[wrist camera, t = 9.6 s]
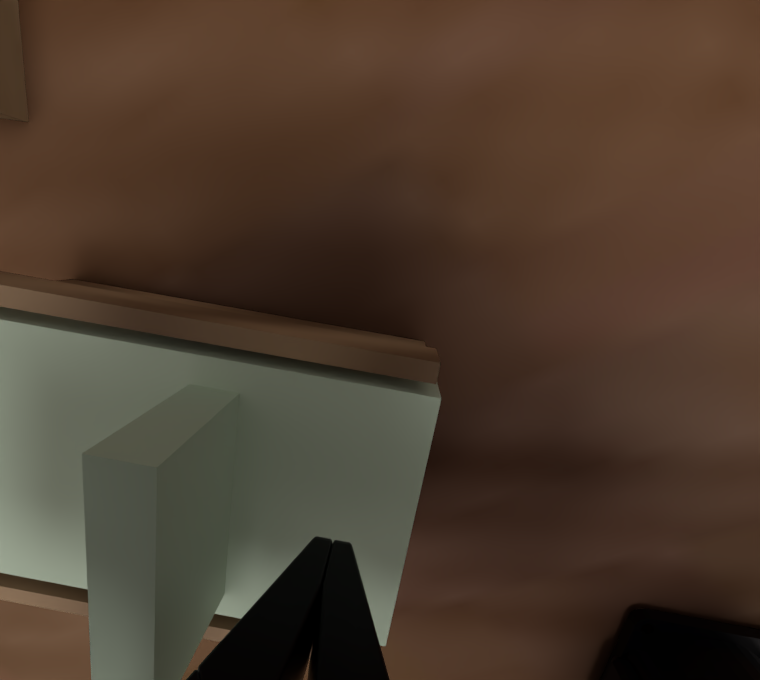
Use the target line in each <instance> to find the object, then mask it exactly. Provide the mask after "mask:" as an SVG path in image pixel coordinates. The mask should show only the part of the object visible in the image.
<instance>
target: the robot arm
mask: <svg viewBox="0 0 760 680" xmlns="http://www.w3.org/2000/svg"><path fill="white" fill-rule="evenodd" d="M332 543H333V544H332ZM311 649H312V651H311ZM310 653H311V657H310ZM309 657H310V664H309V671H308V680H389V676H388V673H387V669H386V666H385V662H384V658H383V655H382V651H381V647H380V644H379V640H378V637H377V633H376V629H375V626H374V622H373V619H372V615H371V611H370V608H369V604H368V600H367V597H366V593H365V590H364V586H363V582H362V579H361V575H360V572H359V568H358V564H357V561H356V557H355V553H354V550H353V546H352V544H351V543H350V542H346V541H340V540H334V541H333V542H332V540H331V539H330V538H324V537H319V536H316V537H314V538H313V539H312V540H311V541H310V542H309V543H308V544H307V546H306V547H305V548H304V549H303V550H302V551H301V552H300V553H299V554H298V556H297V557H296V558H295V559H294V560H293V561H292V562H291V563H290V565H289V566H288V567H287V568H286V569H285V570H284V571H283V572H282V573H281V575H280V576H279V577H278V578H277V579H276V580H275V581H274V582H273V584H272V585H271V586H270V587H269V588H268V589H267V590H266V591H265V592H264V594H263V595H262V596H261V597H260V598H259V599H258V600H257V601H256V603H255V604H254V605H253V606H252V607H251V608H250V609H249V610H248V611H247V613H246V614H245V615H244V616H243V617H242V618H241V619H240V620H239V622H238V623H237V624H236V625H235V626H234V627H233V628H232V629H231V630H230V632H229V633H228V634H227V635H226V636H225V637H224V638H223V639H222V641H221V642H220V643H219V644H218V645H217V646H216V647H215V648H214V650H213V651H212V652H211V653H210V654H209V655H208V656H207V657H206V658H205V660H204V661H203V662H202V663H201V664H200V665H199V667H198V670H195V671H194V672H193V673H192V674H191V675H190V676H189V677H188V678H187V679H186V680H303V678H304V675H305V671H306V668H307V664H308V661H309ZM601 680H760V630H757V629H752V628H746V627H741V626H736V625H730V624H725V623H720V622H714V621H709V620H704V619H698V618H693V617H687V616H682V615H677V614H671V613H666V612H661V611H655V610H650V609H637V610H634V611H633V612H631V613H630V615H629V616H628V618H627V620H626V623H625V625H624V627H623V629H622V632H621V634H620V636H619V639H618V641H617V643H616V646H615V648H614V650H613V652H612V655H611V657H610V659H609V662H608V664H607V666H606V669H605V671H604V673H603V675H602V678H601Z"/></svg>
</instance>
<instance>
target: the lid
mask: <svg viewBox="0 0 760 680" xmlns="http://www.w3.org/2000/svg"><path fill="white" fill-rule="evenodd" d="M440 403H441V395H440V391H439V387H438V383H436V384H431V383H426V382H420V381H415V380H409V379H403V378H398V377H392V376H387V375H381V374H376V373H370V372H364V371H359V370H353V369H348V368H342V367H336V366H331V365H325V364H320V363H314V362H308V361H303V360H297V359H292V358H286V357H280V356H275V355H269V354H264V353H258V352H253V351H247V350H241V349H236V348H230V347H225V346H219V345H213V344H208V343H202V342H197V341H191V340H185V339H180V338H174V337H169V336H163V335H157V334H152V333H146V332H141V331H135V330H129V329H124V328H118V327H113V326H107V325H102V324H96V323H90V322H85V321H79V320H74V319H68V318H62V317H57V316H51V315H46V314H40V313H34V312H29V311H23V310H18V309H12V308H6V307H1V306H0V573H4V574H10V575H15V576H20V577H25V578H31V579H36V580H41V581H46V582H51V583H57V584H62V585H67V586H72V587H78V588H83V589H88V611H89V634H90V657H91V680H181V678H182V676H183V674H184V672H185V670H186V669H187V667H188V665H189V663H190V661H191V659H192V657H193V655H194V653H195V651H196V649H197V647H198V645H199V643H200V641H201V639H202V637H203V635H204V633H205V631H206V630H207V628H208V626H209V624H210V622H211V620H212V618H213V616H214V614H219V615H224V616H229V617H234V618H240V619H241V618H242V617H243V616H244V615H245V614H246V613H247V611H248V610H249V609H250V608H251V607H252V606H253V605H254V604H255V603H256V601H257V600H258V599H259V598H260V597H261V596H262V595H263V594H264V592H265V591H266V590H267V589H268V588H269V587H270V586H271V585H272V584H273V582H274V581H275V580H276V579H277V578H278V577H279V576H280V575H281V573H282V572H283V571H284V570H285V569H286V568H287V567H288V566H289V565H290V563H291V562H292V561H293V560H294V559H295V558H296V557H297V556H298V554H299V553H300V552H301V551H302V550H303V549H304V548H305V547H306V546H307V544H308V543H309V542H310V541H311V540H312V539H313V538H314V537H316V536H319V537H324V538H330V539H331V540H332V542H333V541H334V540H340V541H346V542H350V543H351V544H352V546H353V550H354V553H355V557H356V561H357V564H358V568H359V572H360V575H361V579H362V582H363V586H364V590H365V593H366V597H367V600H368V604H369V608H370V611H371V615H372V619H373V622H374V626H375V629H376V633H377V637H378V640H379V644H380V645H381V646H386V642H387V637H388V633H389V629H390V624H391V620H392V615H393V611H394V606H395V602H396V598H397V593H398V589H399V584H400V580H401V575H402V571H403V567H404V562H405V558H406V553H407V549H408V544H409V540H410V536H411V531H412V527H413V522H414V518H415V513H416V509H417V505H418V500H419V496H420V491H421V487H422V483H423V478H424V474H425V469H426V465H427V460H428V456H429V452H430V447H431V443H432V438H433V434H434V429H435V425H436V421H437V416H438V412H439V407H440ZM332 544H333V543H332Z"/></svg>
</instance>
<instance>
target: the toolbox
mask: <svg viewBox="0 0 760 680" xmlns="http://www.w3.org/2000/svg"><path fill="white" fill-rule="evenodd" d="M0 306H1V307H6V308H12V309H18V310H23V311H29V312H34V313H40V314H46V315H51V316H57V317H62V318H68V319H74V320H79V321H85V322H90V323H96V324H102V325H107V326H113V327H118V328H124V329H129V330H135V331H141V332H146V333H152V334H157V335H163V336H169V337H174V338H180V339H185V340H191V341H197V342H202V343H208V344H213V345H219V346H225V347H230V348H236V349H241V350H247V351H253V352H258V353H264V354H269V355H275V356H280V357H286V358H292V359H297V360H303V361H308V362H314V363H320V364H325V365H331V366H336V367H342V368H348V369H353V370H359V371H364V372H370V373H376V374H381V375H387V376H392V377H398V378H403V379H409V380H415V381H420V382H426V383H431V384H436V383H437V379H438V374H439V369H440V365H441V362H440V359H439V356H438V353H437V350H436V348H431V347H426V345H425V341H420V340H414V339H408V338H403V337H397V336H391V335H386V334H380V333H374V332H369V331H363V330H357V329H352V328H346V327H340V326H335V325H329V324H324V323H318V322H312V321H307V320H301V319H295V318H290V317H284V316H278V315H273V314H267V313H261V312H256V311H250V310H244V309H239V308H233V307H227V306H222V305H216V304H211V303H205V302H199V301H194V300H188V299H182V298H177V297H171V296H165V295H160V294H154V293H148V292H143V291H137V290H131V289H126V288H120V287H114V286H109V285H103V284H97V283H92V282H86V281H81V280H75V279H69V280H59V281H53V280H47V279H42V278H36V277H30V276H25V275H19V274H13V273H8V272H2V271H0ZM0 600H5V601H10V602H15V603H20V604H26V605H31V606H36V607H41V608H46V609H52V610H57V611H62V612H67V613H72V614H78V615H83V616H88V617H89V611H88V589H83V588H78V587H72V586H67V585H62V584H57V583H51V582H46V581H41V580H36V579H31V578H25V577H20V576H15V575H10V574H4V573H0ZM239 620H240V618H234V617H229V616H224V615H219V614H214V616H213V618H212V620H211V622H210V624H209V626H208V628H207V630H206V631H205V633H204V635H203V637H202V639H207V640H213V641H218V642H221V641H222V639H223V638H224V637H225V636H226V635H227V634H228V633H229V632H230V630H231V629H232V628H233V627H234V626H235V625H236V624H237V623H238V622H239ZM311 651H312V649H311ZM310 657H311V653H310ZM310 657H309V659H310Z"/></svg>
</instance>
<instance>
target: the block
mask: <svg viewBox="0 0 760 680" xmlns="http://www.w3.org/2000/svg"><path fill="white" fill-rule="evenodd" d="M0 118H2V119H9V120H16V121H24V122H29V118H28V106H27V95H26V84H25V73H24V62H23V50H22V39H21V28H20V17H19V6H18V0H0Z"/></svg>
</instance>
